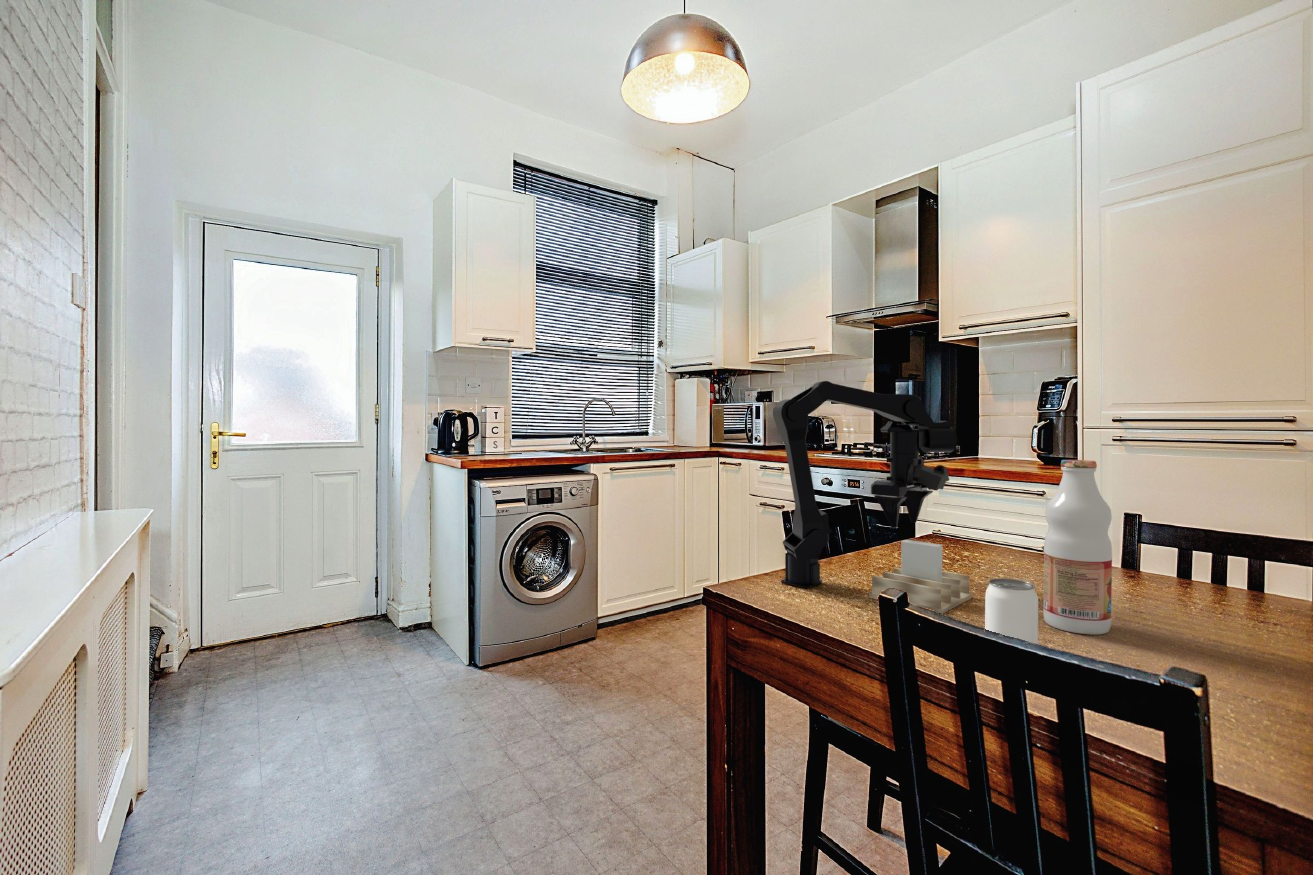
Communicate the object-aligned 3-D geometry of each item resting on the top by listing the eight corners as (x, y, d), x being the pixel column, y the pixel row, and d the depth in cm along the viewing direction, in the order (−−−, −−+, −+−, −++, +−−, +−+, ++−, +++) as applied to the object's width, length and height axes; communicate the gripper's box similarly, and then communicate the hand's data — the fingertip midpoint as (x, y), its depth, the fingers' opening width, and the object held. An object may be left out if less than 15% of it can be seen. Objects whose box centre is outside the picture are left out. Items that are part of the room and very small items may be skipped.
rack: (868, 597, 118) (868, 575, 118) (902, 583, 128) (902, 563, 128) (941, 614, 108) (941, 590, 108) (972, 597, 118) (972, 575, 118)
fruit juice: (1030, 617, 106) (1032, 458, 105) (1082, 615, 107) (1084, 458, 105) (1069, 636, 97) (1071, 463, 96) (1125, 635, 97) (1128, 462, 96)
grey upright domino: (900, 591, 120) (901, 541, 119) (906, 588, 121) (906, 539, 121) (936, 598, 115) (937, 546, 114) (942, 596, 116) (942, 544, 116)
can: (1045, 678, 82) (1046, 591, 81) (993, 674, 83) (994, 588, 83) (1026, 659, 88) (1027, 578, 88) (978, 656, 89) (979, 576, 89)
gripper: (923, 457, 117) (922, 536, 118) (960, 452, 130) (960, 524, 131) (869, 454, 126) (869, 528, 126) (910, 450, 138) (909, 518, 139)
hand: (904, 524), depth 130 cm, fingers open, 9 cm apart
